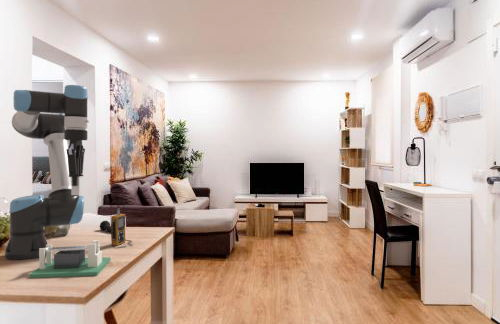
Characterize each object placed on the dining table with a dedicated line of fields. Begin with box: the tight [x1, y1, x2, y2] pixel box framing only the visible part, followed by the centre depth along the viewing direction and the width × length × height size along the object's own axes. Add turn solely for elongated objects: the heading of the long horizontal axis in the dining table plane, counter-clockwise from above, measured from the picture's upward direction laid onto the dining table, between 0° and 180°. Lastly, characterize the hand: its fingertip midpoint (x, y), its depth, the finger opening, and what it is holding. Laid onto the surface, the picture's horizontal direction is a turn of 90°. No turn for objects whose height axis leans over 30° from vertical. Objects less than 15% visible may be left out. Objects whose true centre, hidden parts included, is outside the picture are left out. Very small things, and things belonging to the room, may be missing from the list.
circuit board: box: [29, 239, 111, 279], centre depth 132 cm, size 21×18×9 cm
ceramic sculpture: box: [44, 224, 71, 238], centre depth 184 cm, size 11×9×15 cm
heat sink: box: [53, 249, 86, 269], centre depth 132 cm, size 8×8×5 cm
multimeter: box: [110, 198, 135, 249], centre depth 168 cm, size 15×10×20 cm
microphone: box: [99, 220, 111, 234], centre depth 195 cm, size 5×5×19 cm
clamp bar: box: [45, 245, 88, 252], centre depth 132 cm, size 17×4×2 cm, turn 97°
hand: (76, 194), depth 136 cm, fingers closed
